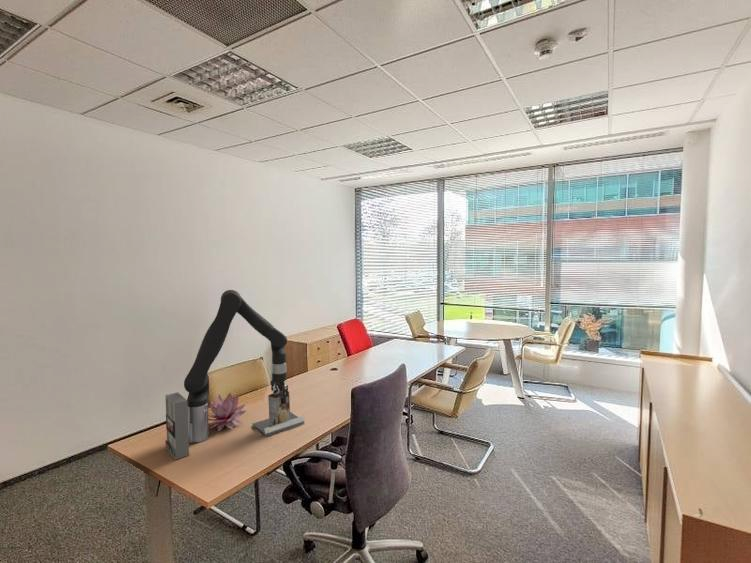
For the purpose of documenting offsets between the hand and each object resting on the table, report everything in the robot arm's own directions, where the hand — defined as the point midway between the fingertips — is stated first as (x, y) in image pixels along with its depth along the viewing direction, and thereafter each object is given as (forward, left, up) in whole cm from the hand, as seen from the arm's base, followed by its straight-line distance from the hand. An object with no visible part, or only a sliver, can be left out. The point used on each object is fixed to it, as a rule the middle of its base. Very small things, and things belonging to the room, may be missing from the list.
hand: (279, 401), depth 190 cm
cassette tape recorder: (-47, +7, -13) cm, 49 cm away
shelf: (0, +1, -13) cm, 13 cm away
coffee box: (0, 0, -12) cm, 12 cm away
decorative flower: (-22, +19, -13) cm, 32 cm away
